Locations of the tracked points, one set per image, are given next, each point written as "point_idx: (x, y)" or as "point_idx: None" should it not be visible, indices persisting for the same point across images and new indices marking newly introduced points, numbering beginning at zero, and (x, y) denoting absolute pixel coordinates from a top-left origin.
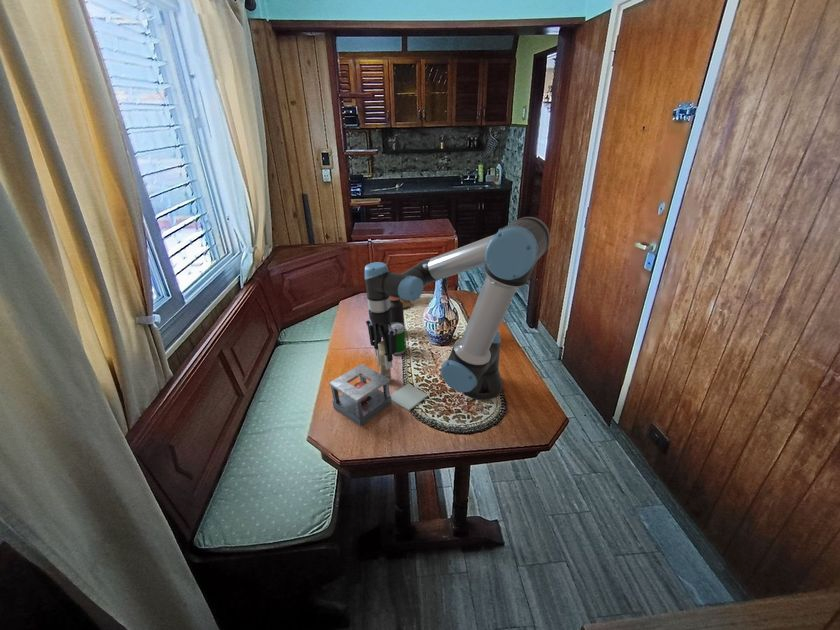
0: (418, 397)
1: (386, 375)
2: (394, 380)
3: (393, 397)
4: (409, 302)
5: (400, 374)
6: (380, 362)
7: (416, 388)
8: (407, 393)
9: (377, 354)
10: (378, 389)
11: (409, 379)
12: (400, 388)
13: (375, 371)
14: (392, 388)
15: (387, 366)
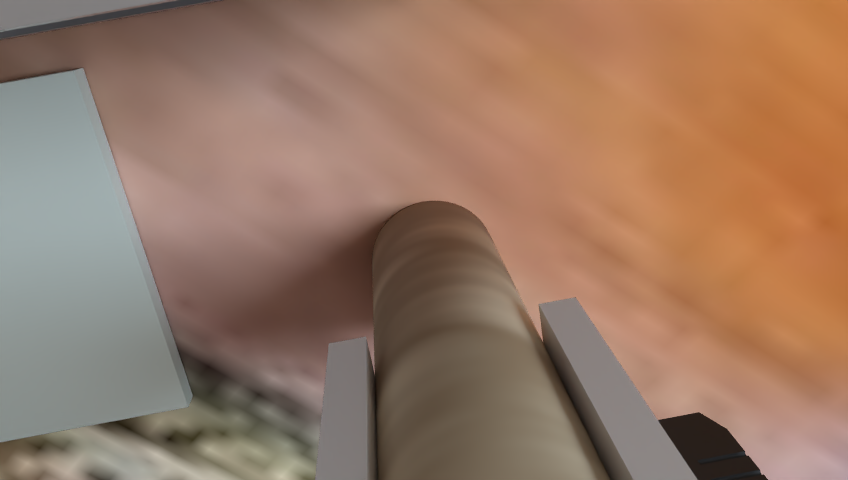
0: None
1: (379, 286)
2: (366, 329)
3: (27, 130)
4: None
5: None
6: (479, 357)
7: (40, 433)
8: (8, 309)
9: (638, 453)
10: (166, 7)
11: (270, 459)
12: (150, 297)
13: (16, 11)
14: (243, 230)
15: (330, 394)
